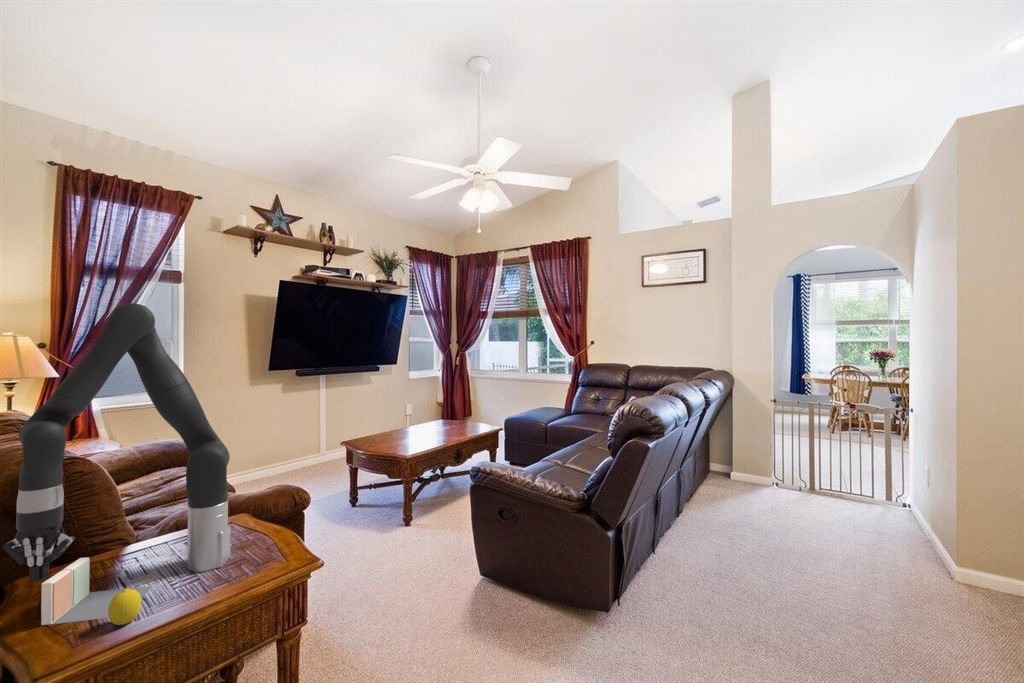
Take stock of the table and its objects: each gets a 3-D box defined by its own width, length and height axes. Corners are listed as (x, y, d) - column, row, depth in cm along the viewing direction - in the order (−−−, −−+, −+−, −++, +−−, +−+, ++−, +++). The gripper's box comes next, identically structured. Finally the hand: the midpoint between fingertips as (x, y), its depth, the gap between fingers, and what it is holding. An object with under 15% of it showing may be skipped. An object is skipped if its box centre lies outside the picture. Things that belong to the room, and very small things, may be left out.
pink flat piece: (71, 608, 102) (72, 569, 102) (52, 623, 97) (53, 582, 97) (60, 609, 102) (61, 570, 102) (41, 625, 96) (41, 583, 96)
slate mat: (153, 588, 112) (153, 585, 112) (121, 618, 100) (121, 616, 100) (82, 595, 108) (82, 592, 108) (40, 628, 96) (40, 625, 96)
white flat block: (90, 594, 108) (90, 557, 108) (73, 607, 103) (73, 568, 102) (79, 595, 107) (80, 558, 107) (62, 608, 102) (62, 569, 102)
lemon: (121, 618, 100) (121, 582, 100) (147, 617, 100) (147, 581, 100) (100, 634, 94) (101, 596, 94) (128, 633, 95) (128, 595, 95)
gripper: (85, 498, 109) (84, 569, 109) (20, 501, 106) (18, 574, 106) (62, 509, 101) (60, 585, 101) (-10, 513, 98) (-12, 591, 98)
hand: (38, 579), depth 103 cm, fingers closed
